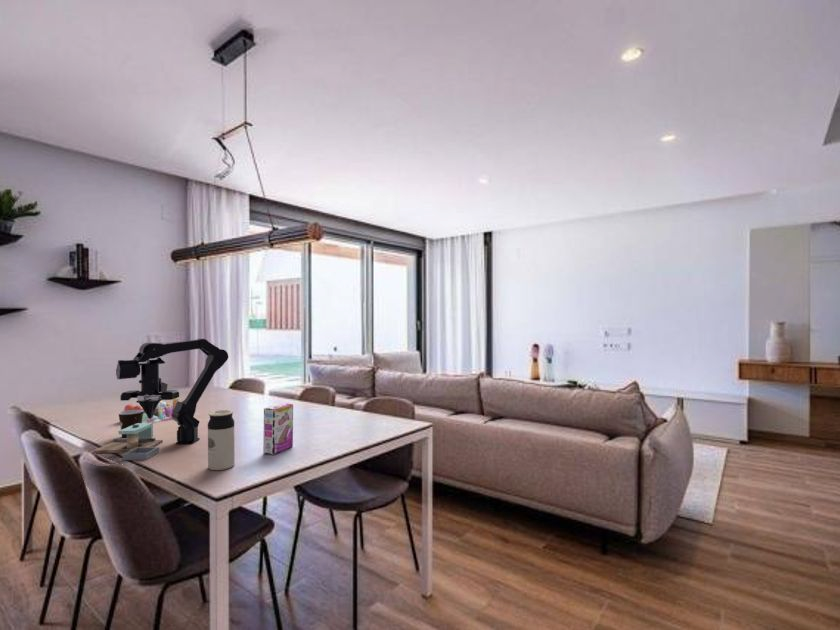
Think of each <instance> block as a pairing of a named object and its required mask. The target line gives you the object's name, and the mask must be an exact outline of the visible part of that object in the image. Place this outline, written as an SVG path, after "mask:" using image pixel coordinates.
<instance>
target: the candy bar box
mask: <svg viewBox="0 0 840 630" xmlns="http://www.w3.org/2000/svg"><path fill="white" fill-rule="evenodd" d="M293 438H294V404H293V403H278V404H276V405H272V406H268V407H263V443H262V444H263V447H262V448H263V450H262V451H263V454H265V455H270V456H275V455H277V454H279V453H281V452H284V451H286V450H289V449H290V448H293V447H294V443H293V442H294V439H293Z"/></svg>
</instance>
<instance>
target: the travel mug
mask: <svg viewBox="0 0 840 630" xmlns="http://www.w3.org/2000/svg"><path fill="white" fill-rule="evenodd" d="M233 413H234V410H233V409H219V410H212V411H210V412H209V413H208V416H209V420H208V422H207V469H209V470H211V471H222V470H223V471H224V470H228V469H231V468H232V467H233V466H235V460H236V459H235V453H236V452H235V419H234V417H233Z"/></svg>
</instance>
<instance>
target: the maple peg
mask: <svg viewBox="0 0 840 630" xmlns="http://www.w3.org/2000/svg"><path fill="white" fill-rule="evenodd" d="M136 447H138V433H136V434H127V449H134V448H136Z"/></svg>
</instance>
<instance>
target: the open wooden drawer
mask: <svg viewBox="0 0 840 630" xmlns="http://www.w3.org/2000/svg"><path fill="white" fill-rule="evenodd" d="M163 441H164V440H163V439H156V437H152V438H138V447H158V446H159V445H161V444H163V443H162V442H163ZM160 443H161V444H160ZM158 444H159V445H158ZM130 450H132V449H127V438H122V437H121V438H119V437H118V438H113V439H112V442H110V443H107V444H105V445H102V446H100V447H98V448H96V449H94V450H93V454H103V453H104V454H113V453H115V454H116V453H117V454H124V453H126V452H128V451H130Z"/></svg>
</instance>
